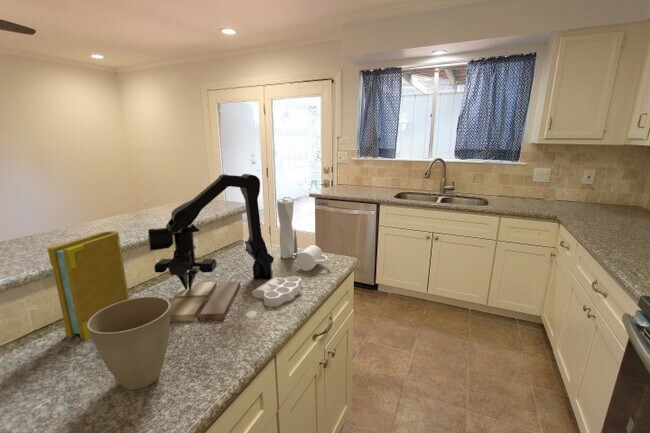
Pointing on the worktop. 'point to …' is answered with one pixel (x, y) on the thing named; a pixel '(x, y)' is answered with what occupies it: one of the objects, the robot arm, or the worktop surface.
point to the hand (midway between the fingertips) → (188, 288)
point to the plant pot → (132, 339)
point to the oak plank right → (197, 291)
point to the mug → (310, 258)
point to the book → (88, 278)
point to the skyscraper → (286, 228)
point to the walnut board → (220, 301)
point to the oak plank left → (186, 308)
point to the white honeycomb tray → (278, 290)
